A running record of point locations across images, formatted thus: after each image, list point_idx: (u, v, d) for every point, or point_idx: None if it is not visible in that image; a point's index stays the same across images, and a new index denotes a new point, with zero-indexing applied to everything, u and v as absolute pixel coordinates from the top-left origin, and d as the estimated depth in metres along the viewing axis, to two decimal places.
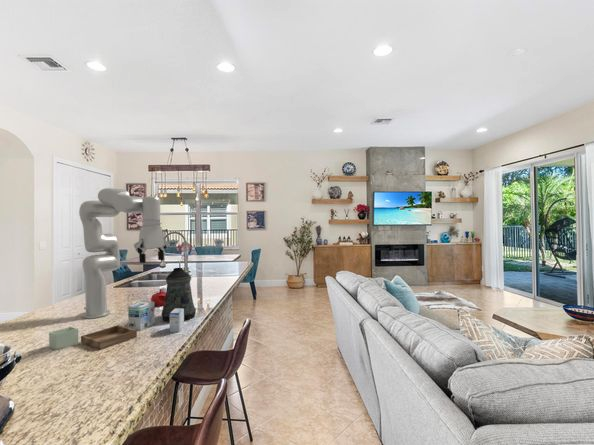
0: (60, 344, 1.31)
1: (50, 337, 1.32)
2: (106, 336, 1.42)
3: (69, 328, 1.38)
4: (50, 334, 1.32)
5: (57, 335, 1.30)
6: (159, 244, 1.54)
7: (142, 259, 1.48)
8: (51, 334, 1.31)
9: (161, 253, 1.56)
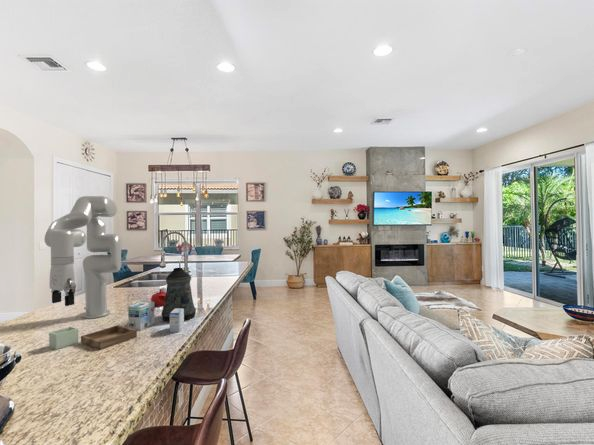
0: (60, 344, 1.31)
1: (50, 337, 1.32)
2: (106, 336, 1.42)
3: (69, 328, 1.38)
4: (50, 334, 1.32)
5: (57, 335, 1.30)
6: None
7: (72, 301, 1.32)
8: (51, 334, 1.31)
9: (59, 294, 1.37)
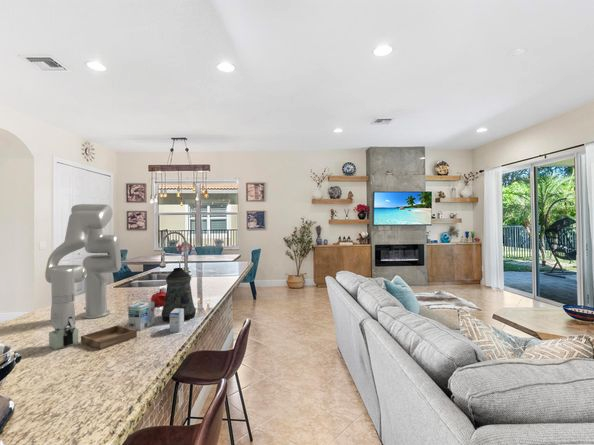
0: (60, 344, 1.31)
1: (49, 337, 1.32)
2: (106, 336, 1.42)
3: None
4: (50, 334, 1.32)
5: (56, 335, 1.30)
6: None
7: None
8: (51, 334, 1.31)
9: None
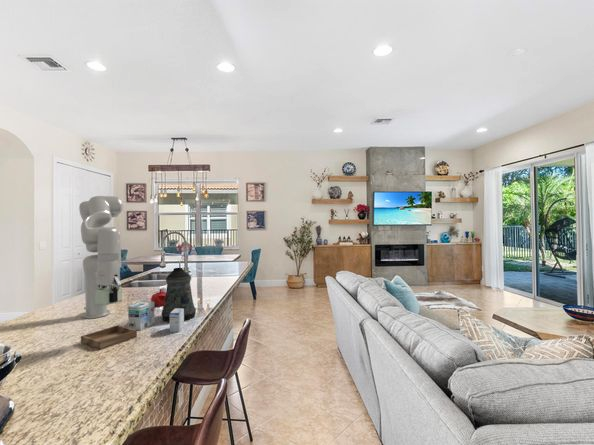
0: (106, 301, 1.35)
1: (96, 294, 1.37)
2: (106, 336, 1.42)
3: (112, 287, 1.43)
4: (96, 291, 1.37)
5: (103, 291, 1.34)
6: None
7: None
8: (97, 291, 1.36)
9: None
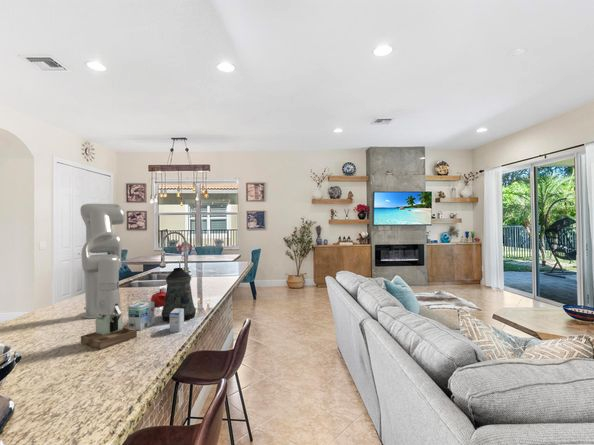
0: (106, 330, 1.36)
1: (96, 324, 1.37)
2: (106, 336, 1.42)
3: None
4: (97, 320, 1.37)
5: (104, 321, 1.35)
6: None
7: (116, 327, 1.38)
8: (98, 320, 1.36)
9: None
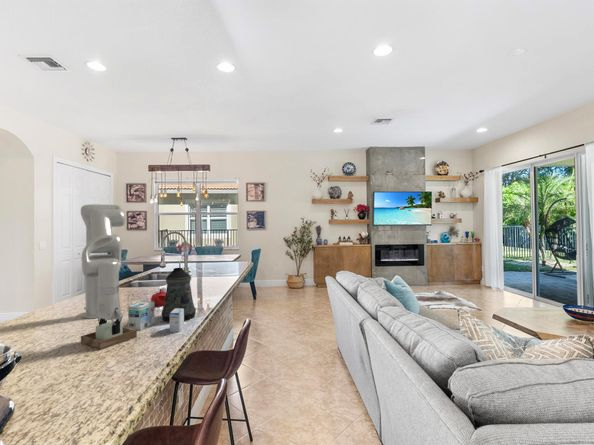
0: (106, 338, 1.36)
1: (96, 331, 1.37)
2: None
3: None
4: (97, 328, 1.37)
5: (104, 328, 1.35)
6: None
7: (118, 329, 1.38)
8: (98, 328, 1.36)
9: (105, 322, 1.42)
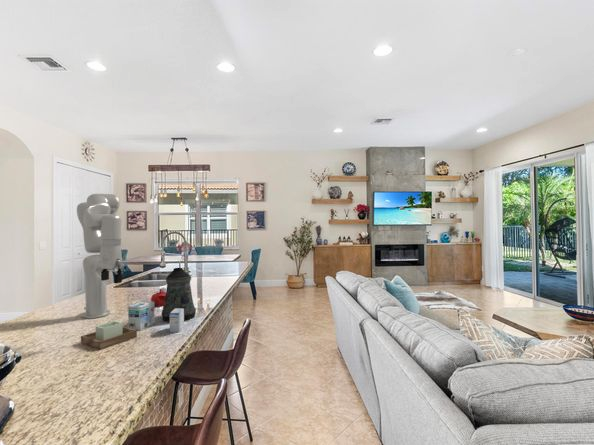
0: (106, 338, 1.36)
1: (96, 331, 1.37)
2: None
3: (113, 322, 1.43)
4: (97, 328, 1.37)
5: (104, 328, 1.35)
6: None
7: (120, 279, 1.46)
8: (98, 328, 1.36)
9: (107, 272, 1.51)
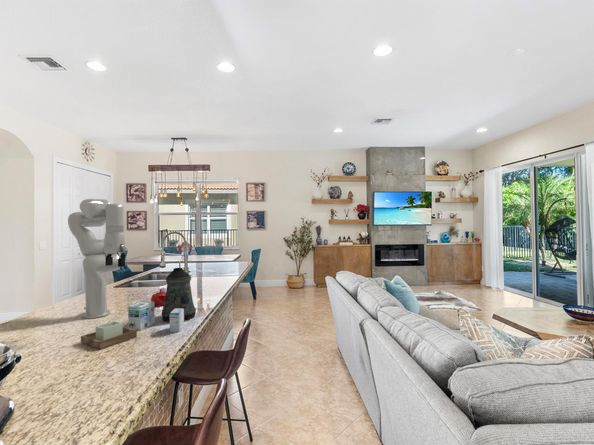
0: (106, 338, 1.36)
1: (96, 331, 1.37)
2: None
3: (113, 322, 1.43)
4: (97, 328, 1.37)
5: (104, 328, 1.35)
6: None
7: (124, 263, 1.56)
8: (98, 328, 1.36)
9: (111, 258, 1.61)
